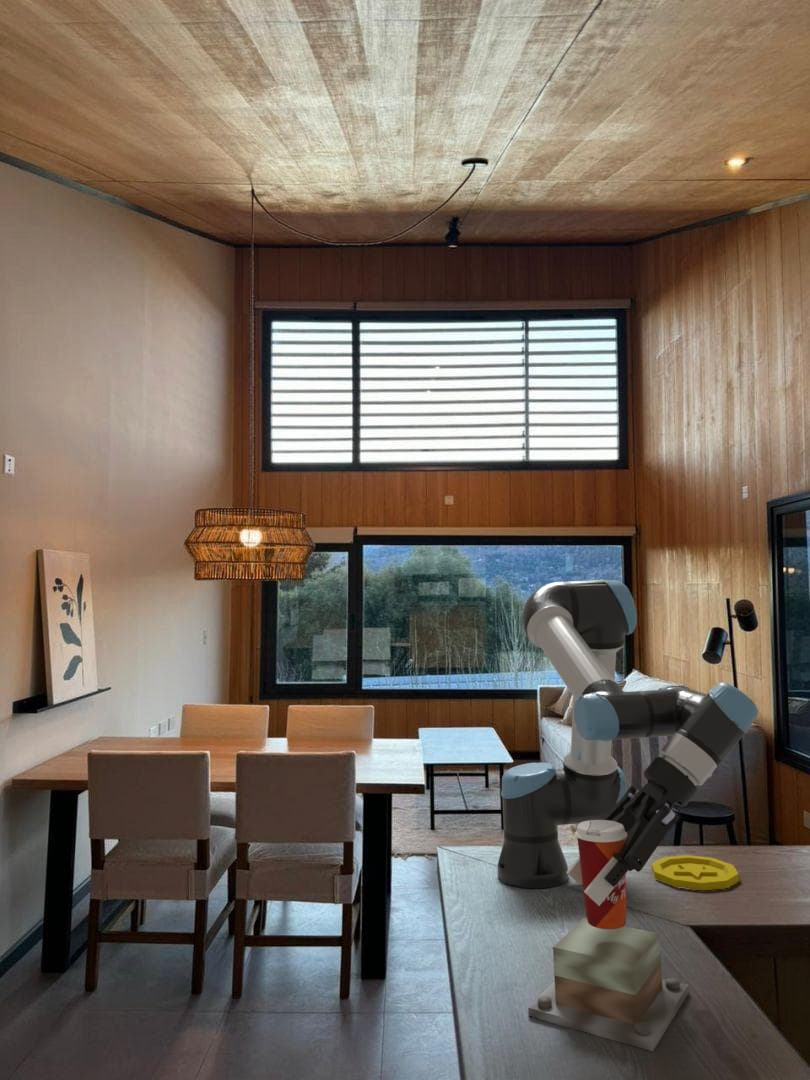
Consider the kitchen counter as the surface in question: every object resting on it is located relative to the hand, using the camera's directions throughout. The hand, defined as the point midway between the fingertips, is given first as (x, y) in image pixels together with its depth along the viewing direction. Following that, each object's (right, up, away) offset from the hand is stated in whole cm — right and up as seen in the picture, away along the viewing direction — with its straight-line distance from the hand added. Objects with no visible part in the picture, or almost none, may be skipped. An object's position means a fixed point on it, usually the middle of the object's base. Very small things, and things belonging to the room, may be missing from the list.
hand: (582, 888), depth 119 cm
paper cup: (+4, -5, 0) cm, 6 cm away
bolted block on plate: (+4, -17, -1) cm, 17 cm away
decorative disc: (+35, -20, +51) cm, 65 cm away
